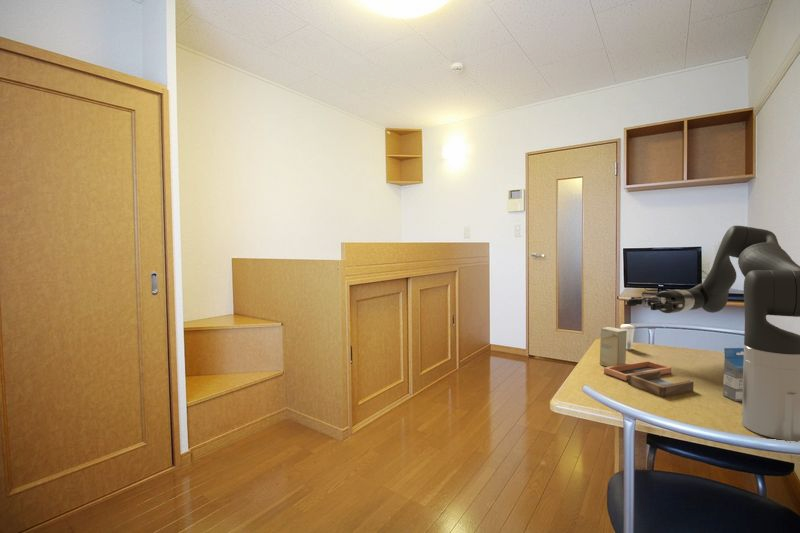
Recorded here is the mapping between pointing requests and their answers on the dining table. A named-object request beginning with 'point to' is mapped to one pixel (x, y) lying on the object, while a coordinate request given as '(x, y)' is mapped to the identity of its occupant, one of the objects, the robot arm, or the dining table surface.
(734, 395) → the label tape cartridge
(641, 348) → the dining table surface
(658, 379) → the walled bay
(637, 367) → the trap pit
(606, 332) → the skincare box
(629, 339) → the milkshake
